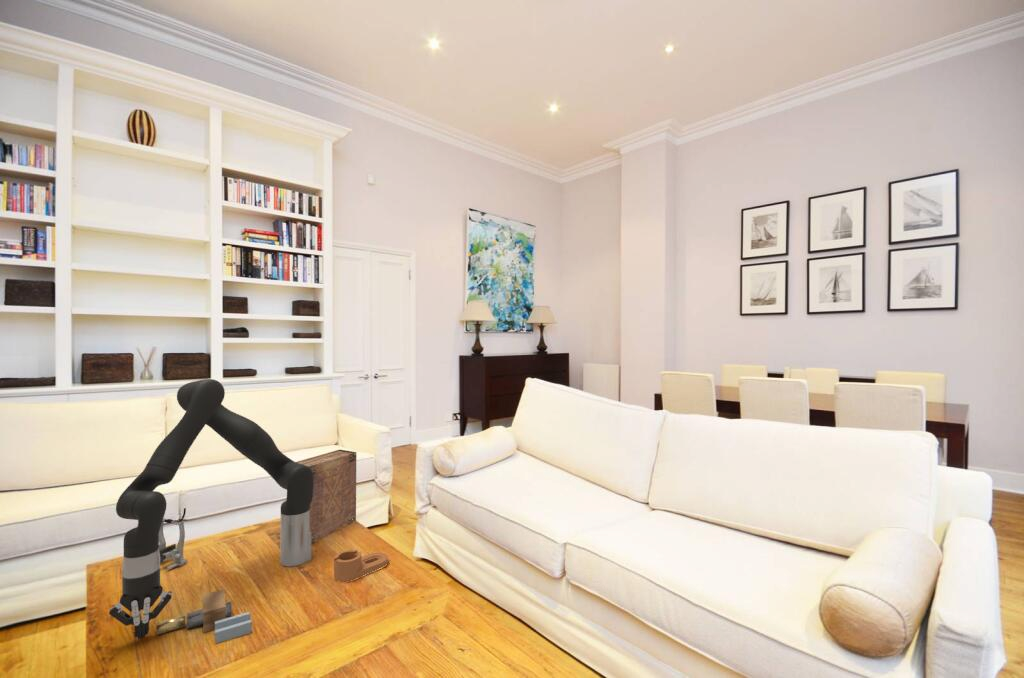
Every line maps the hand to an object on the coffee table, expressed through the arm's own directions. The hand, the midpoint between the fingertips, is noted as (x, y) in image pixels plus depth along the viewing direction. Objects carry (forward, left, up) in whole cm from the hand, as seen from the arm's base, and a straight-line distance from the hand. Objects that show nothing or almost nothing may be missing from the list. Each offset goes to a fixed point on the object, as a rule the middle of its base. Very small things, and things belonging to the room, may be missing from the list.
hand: (141, 636), depth 118 cm
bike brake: (-3, -43, -1) cm, 43 cm away
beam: (-15, 0, -1) cm, 16 cm away
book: (-52, -41, -1) cm, 67 cm away
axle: (-14, 0, -1) cm, 15 cm away
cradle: (-19, +9, -1) cm, 22 cm away
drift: (-6, 0, -1) cm, 6 cm away
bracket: (-57, -4, -1) cm, 57 cm away
